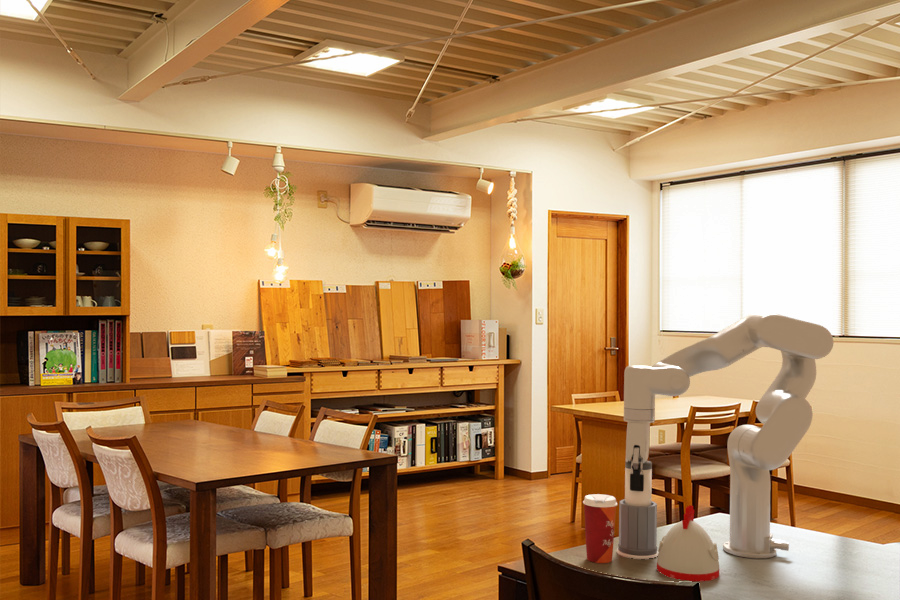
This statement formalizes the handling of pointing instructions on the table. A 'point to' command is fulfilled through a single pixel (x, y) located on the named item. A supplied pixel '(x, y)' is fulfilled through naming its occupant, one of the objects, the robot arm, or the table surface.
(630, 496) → the plunger
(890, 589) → the table surface
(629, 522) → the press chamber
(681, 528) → the kitchen timer
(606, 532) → the coffee cup
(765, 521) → the robot arm
